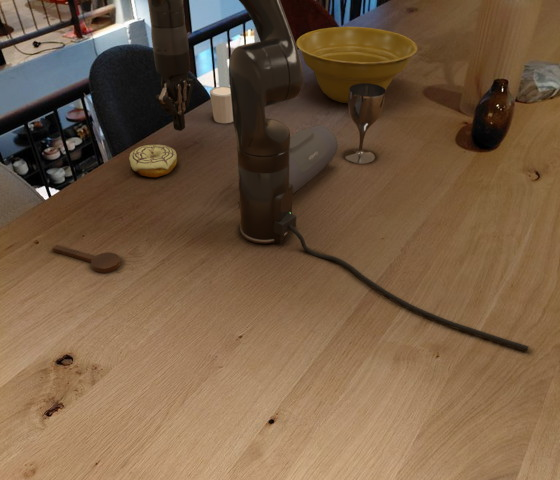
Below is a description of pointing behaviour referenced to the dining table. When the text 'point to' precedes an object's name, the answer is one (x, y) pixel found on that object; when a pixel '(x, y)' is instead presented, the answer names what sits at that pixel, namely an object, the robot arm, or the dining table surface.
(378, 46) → the planter bowl
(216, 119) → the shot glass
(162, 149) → the decorated donut
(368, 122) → the wine glass
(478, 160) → the dining table surface
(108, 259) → the spoon
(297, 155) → the bluetooth speaker
